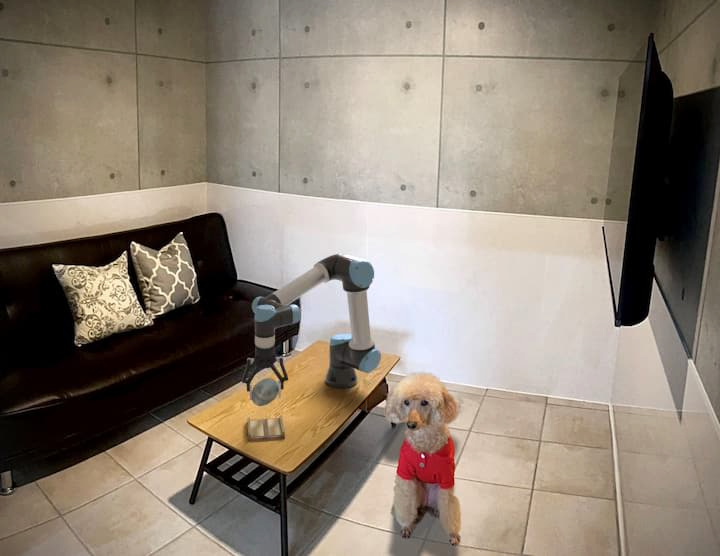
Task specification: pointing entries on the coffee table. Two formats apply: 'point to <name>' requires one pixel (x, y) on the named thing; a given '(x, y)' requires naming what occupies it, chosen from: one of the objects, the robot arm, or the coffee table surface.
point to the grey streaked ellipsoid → (264, 392)
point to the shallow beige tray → (265, 429)
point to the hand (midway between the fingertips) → (265, 397)
